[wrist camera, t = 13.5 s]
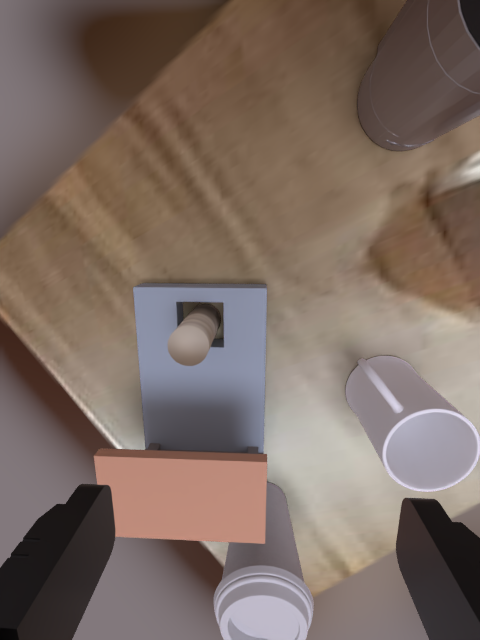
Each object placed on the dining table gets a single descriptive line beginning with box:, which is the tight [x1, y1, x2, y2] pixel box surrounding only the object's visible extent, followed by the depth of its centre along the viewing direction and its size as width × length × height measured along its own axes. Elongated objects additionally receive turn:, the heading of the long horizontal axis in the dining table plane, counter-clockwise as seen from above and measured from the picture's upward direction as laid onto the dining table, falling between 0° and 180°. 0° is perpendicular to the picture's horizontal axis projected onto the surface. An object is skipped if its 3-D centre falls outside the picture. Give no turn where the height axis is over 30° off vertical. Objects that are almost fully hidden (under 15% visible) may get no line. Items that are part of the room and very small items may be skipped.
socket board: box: [94, 283, 267, 544], centre depth 34 cm, size 20×14×14 cm
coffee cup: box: [214, 482, 314, 640], centre depth 38 cm, size 10×10×15 cm
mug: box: [345, 356, 480, 492], centre depth 34 cm, size 12×8×12 cm
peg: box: [168, 303, 221, 366], centre depth 34 cm, size 4×4×10 cm
